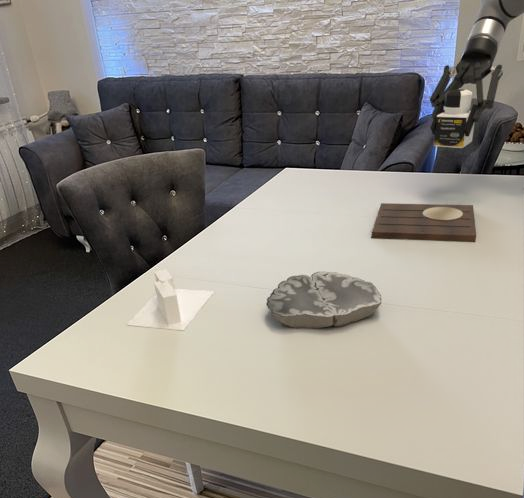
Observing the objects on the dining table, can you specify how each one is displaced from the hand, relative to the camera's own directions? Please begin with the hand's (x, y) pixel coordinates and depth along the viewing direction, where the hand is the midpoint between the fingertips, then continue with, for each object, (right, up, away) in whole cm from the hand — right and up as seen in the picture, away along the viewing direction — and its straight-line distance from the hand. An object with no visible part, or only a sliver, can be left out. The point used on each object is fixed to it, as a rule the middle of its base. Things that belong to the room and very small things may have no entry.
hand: (449, 131), depth 126 cm
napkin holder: (-61, -44, -28) cm, 80 cm away
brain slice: (-34, -44, -32) cm, 64 cm away
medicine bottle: (+2, -1, +4) cm, 5 cm away
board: (-6, -22, -1) cm, 23 cm away
